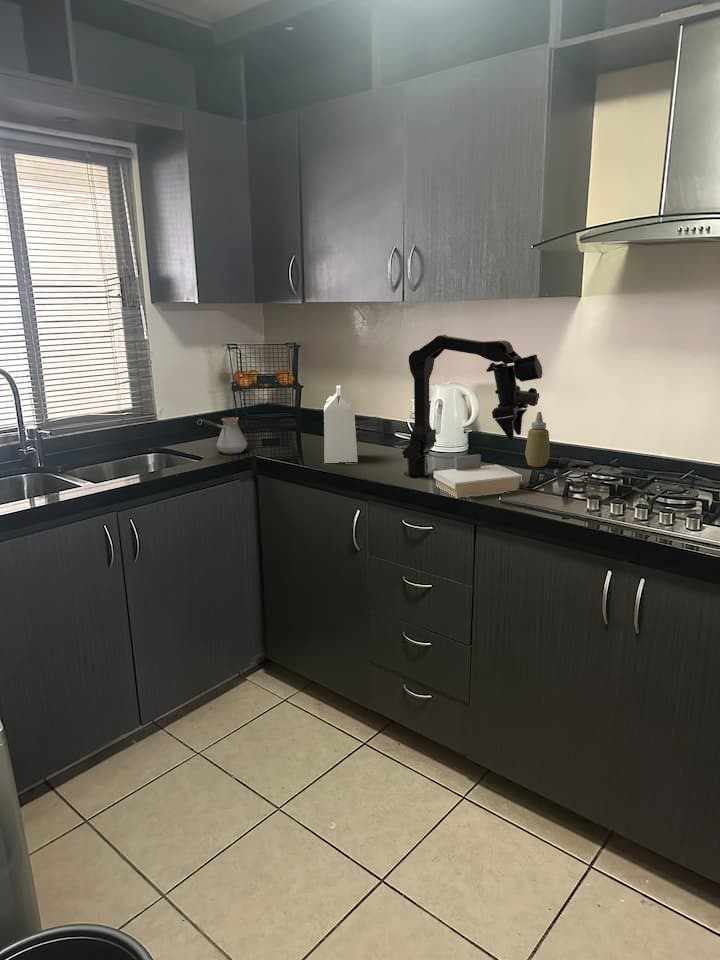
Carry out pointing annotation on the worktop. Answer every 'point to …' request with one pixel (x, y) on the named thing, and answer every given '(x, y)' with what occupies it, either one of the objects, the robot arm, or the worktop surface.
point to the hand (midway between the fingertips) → (515, 437)
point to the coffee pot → (229, 436)
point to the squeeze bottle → (538, 443)
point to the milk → (339, 430)
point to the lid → (473, 472)
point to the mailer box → (480, 487)
